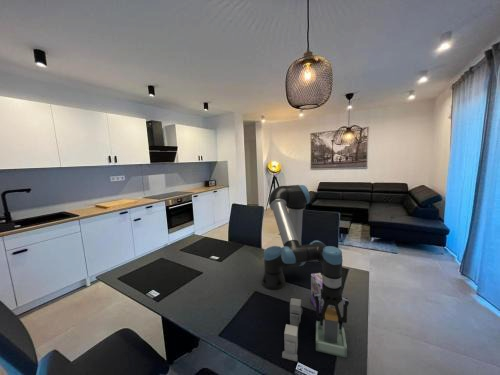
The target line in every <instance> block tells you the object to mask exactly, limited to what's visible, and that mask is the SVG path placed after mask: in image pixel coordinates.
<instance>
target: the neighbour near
mask: <svg viewBox="0 0 500 375" xmlns="http://www.w3.org/2000/svg"><path fill="white" fill-rule="evenodd" d="M283 334H284V335H283V336H284V337H283V338H284V341H283V342H284V347H283V348H284V350H283V351H285V341H288V342H292V343H295V354H296V355H297V356H298V348H299V346H298V345H299V344H298V343H299V338H298V337H299V335H298V334H299V328H298V327H297V326H292V325H290V324H289V325H288V324H287V323H286V324H285V328H284V333H283Z"/></svg>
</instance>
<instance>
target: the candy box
mask: <svg viewBox="0 0 500 375" xmlns="http://www.w3.org/2000/svg"><path fill="white" fill-rule="evenodd" d="M322 283H323V282H322V273H321V272H315V273H314V272H313V273H311V274H310V301H311V303H312V305H313V307H314V309H316V299H315V293H317V294H321V292H322ZM323 304H324V300H323V299H322V297H321V298H320V300H319V313H321V310H322V307H323ZM328 308H332V305H328ZM324 316H325V315H324Z"/></svg>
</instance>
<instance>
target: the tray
mask: <svg viewBox="0 0 500 375" xmlns="http://www.w3.org/2000/svg"><path fill="white" fill-rule="evenodd" d="M347 346H348V345H347V339H346V333H345V326H343V325H342V329H339V337H337V343H334V342H330V341H326V340H325V339H324V334H323V326H321V325H320V320H319V321H318V320H316V321H315V351H316V352H320V353H324V354H328V355H333V356H336V357H339V358H345V359H347V358H348V347H347Z"/></svg>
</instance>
